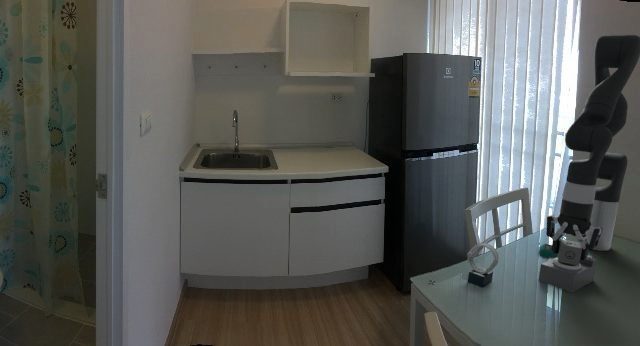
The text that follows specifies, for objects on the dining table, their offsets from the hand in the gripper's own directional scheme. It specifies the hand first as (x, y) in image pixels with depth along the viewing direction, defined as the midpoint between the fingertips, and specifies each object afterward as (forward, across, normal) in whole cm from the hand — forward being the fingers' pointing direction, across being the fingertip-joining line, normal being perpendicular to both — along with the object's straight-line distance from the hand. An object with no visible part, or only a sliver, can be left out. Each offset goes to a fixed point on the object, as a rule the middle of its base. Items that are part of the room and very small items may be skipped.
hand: (568, 256), depth 126 cm
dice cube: (+1, 0, 0) cm, 1 cm away
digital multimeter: (+8, +9, -20) cm, 24 cm away
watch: (+8, +13, +22) cm, 26 cm away
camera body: (+8, 0, -1) cm, 8 cm away
